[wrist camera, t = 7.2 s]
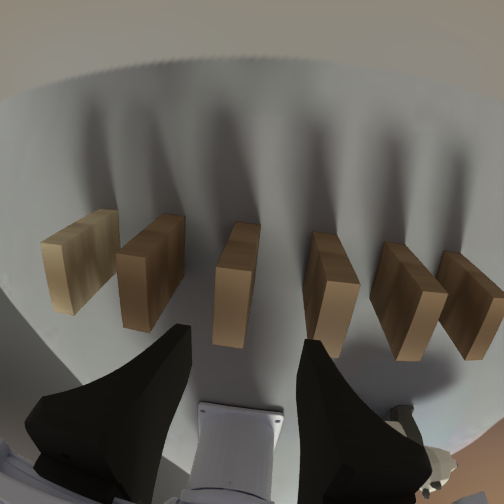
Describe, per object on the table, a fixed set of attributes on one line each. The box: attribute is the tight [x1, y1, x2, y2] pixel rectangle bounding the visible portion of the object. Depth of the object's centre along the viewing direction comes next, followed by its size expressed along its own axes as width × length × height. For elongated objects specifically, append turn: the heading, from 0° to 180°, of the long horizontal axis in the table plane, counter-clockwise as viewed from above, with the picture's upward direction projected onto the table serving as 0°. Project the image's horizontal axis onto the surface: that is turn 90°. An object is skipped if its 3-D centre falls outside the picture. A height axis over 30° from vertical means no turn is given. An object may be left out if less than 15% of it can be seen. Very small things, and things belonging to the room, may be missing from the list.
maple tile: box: [40, 209, 120, 316], centre depth 19 cm, size 4×2×7 cm, turn 175°
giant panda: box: [385, 406, 458, 499], centre depth 23 cm, size 15×6×10 cm, turn 76°
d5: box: [116, 214, 185, 333], centre depth 19 cm, size 4×2×7 cm, turn 174°
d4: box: [212, 222, 261, 348], centre depth 18 cm, size 4×2×7 cm, turn 174°
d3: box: [302, 232, 361, 358], centre depth 18 cm, size 4×2×7 cm, turn 174°
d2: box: [369, 242, 448, 361], centre depth 18 cm, size 4×2×7 cm, turn 174°
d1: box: [436, 251, 504, 360], centre depth 18 cm, size 4×2×7 cm, turn 174°
